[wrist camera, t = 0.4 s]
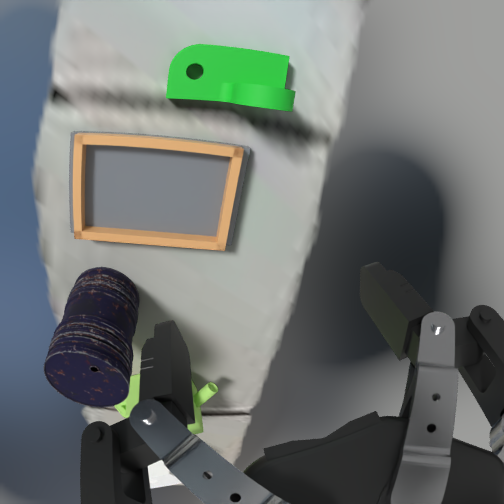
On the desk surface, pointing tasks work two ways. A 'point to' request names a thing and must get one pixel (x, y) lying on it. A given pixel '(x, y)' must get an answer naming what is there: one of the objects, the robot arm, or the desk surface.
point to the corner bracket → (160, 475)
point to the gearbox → (198, 400)
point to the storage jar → (95, 340)
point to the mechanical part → (232, 77)
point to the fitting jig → (155, 189)
